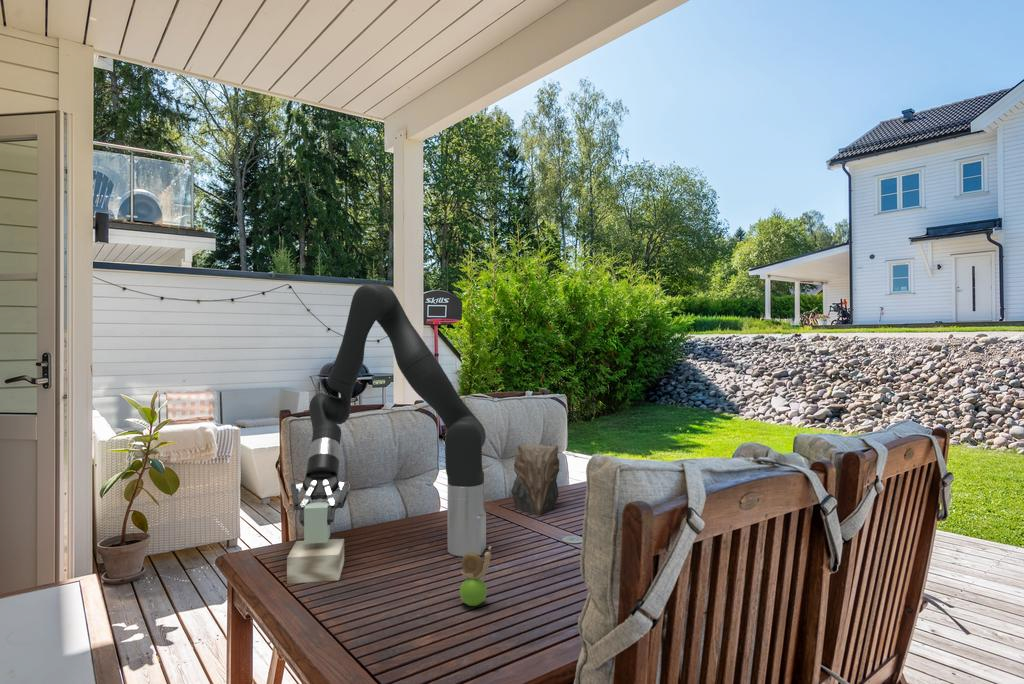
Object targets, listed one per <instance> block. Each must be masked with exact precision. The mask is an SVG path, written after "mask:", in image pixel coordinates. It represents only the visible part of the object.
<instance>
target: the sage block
mask: <svg viewBox="0 0 1024 684" xmlns="http://www.w3.org/2000/svg"><path fill="white" fill-rule="evenodd" d="M329 505H330V504H329V502H328V501H317V502H315V501H313V502H310V503H307V505H306V506H305V508H304V526H303V527H304V528H303V531H304V533H303V534H304V535H303V536H304V538H303V541H304V544H309V543H327V542H328V539H330V537H331V525H328V524H327V516H328V507H329Z"/></svg>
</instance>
